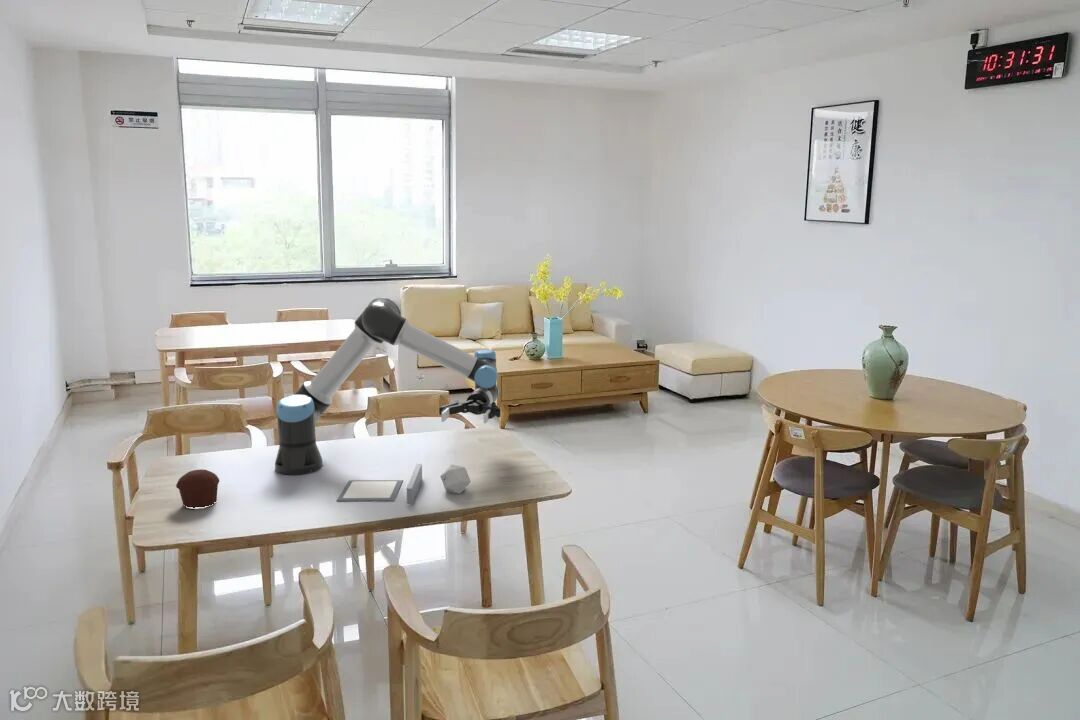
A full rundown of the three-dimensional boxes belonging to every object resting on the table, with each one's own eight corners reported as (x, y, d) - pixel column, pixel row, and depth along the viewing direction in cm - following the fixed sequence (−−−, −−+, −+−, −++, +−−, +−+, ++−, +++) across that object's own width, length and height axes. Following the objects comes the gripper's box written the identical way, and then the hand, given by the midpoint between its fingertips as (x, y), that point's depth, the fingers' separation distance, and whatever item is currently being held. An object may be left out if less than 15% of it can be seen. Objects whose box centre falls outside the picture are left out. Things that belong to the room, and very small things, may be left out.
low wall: (407, 504, 233) (406, 488, 232) (417, 478, 255) (416, 463, 254) (412, 504, 233) (412, 488, 232) (422, 478, 255) (421, 463, 254)
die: (444, 487, 249) (432, 469, 242) (467, 472, 250) (456, 454, 244) (454, 504, 243) (442, 486, 236) (478, 488, 244) (467, 470, 238)
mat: (336, 501, 235) (336, 499, 235) (349, 481, 252) (348, 479, 252) (394, 501, 235) (393, 499, 235) (402, 481, 252) (402, 479, 252)
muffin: (215, 494, 241) (213, 462, 239) (226, 505, 232) (223, 472, 230) (173, 502, 234) (170, 470, 232) (182, 514, 225) (179, 481, 223)
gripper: (515, 413, 269) (502, 431, 248) (444, 410, 273) (425, 428, 252) (515, 391, 267) (502, 408, 247) (443, 389, 271) (424, 405, 251)
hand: (463, 418), depth 249 cm, fingers open, 13 cm apart
